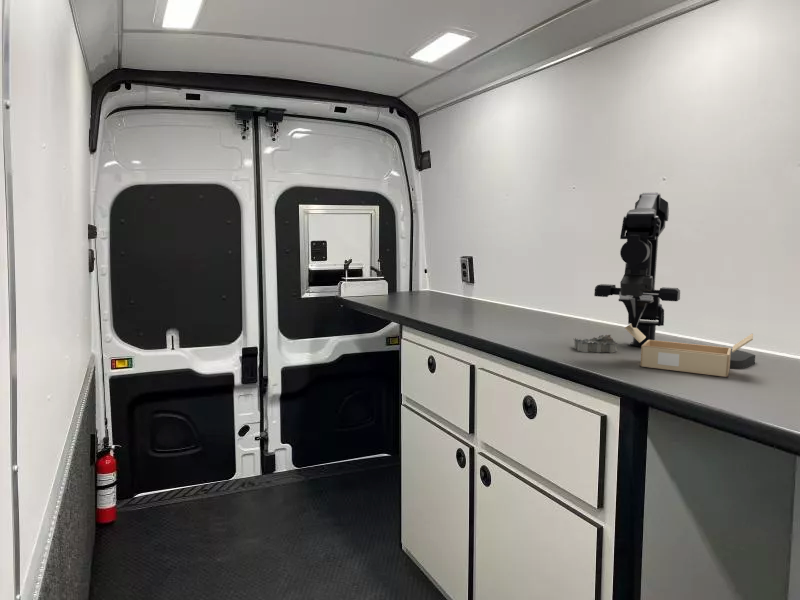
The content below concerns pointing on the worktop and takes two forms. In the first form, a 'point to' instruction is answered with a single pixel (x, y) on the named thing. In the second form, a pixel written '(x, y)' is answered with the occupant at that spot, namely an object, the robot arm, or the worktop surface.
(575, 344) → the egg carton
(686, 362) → the carton
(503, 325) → the worktop surface
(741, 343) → the flap
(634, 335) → the flap
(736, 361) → the media streaming box
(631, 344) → the robot arm
